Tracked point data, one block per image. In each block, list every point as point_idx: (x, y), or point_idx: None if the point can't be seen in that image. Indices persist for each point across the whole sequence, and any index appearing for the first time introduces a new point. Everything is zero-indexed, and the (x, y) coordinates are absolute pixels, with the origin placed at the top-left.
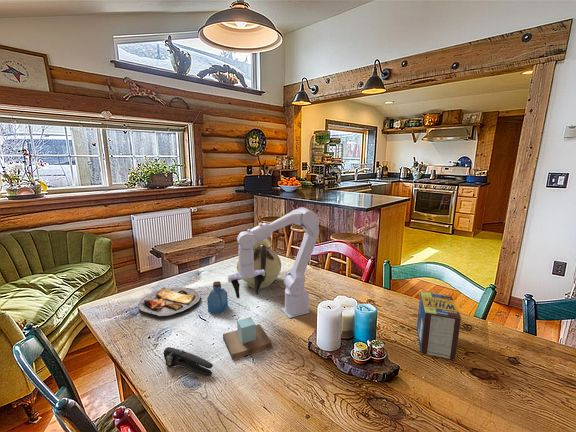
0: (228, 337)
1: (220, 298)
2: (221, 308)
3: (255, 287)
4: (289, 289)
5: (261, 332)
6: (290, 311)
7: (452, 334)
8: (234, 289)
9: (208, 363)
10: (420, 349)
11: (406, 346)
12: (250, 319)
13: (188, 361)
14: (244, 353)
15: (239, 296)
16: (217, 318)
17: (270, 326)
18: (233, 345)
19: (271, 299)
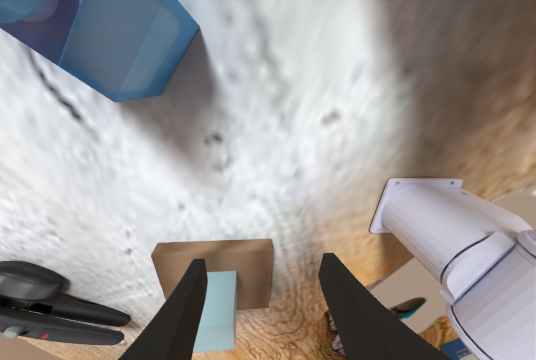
0: (167, 272)
1: (102, 92)
2: (146, 96)
3: (340, 296)
4: (464, 342)
5: (261, 279)
6: (391, 231)
7: None
8: (161, 309)
9: (110, 344)
10: (447, 348)
11: (444, 336)
12: (227, 332)
13: (60, 315)
14: None
15: (205, 297)
16: (137, 128)
17: (302, 241)
18: None
19: (418, 84)
